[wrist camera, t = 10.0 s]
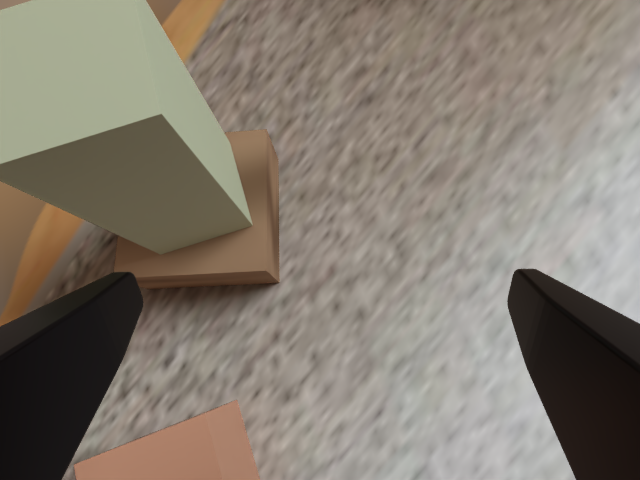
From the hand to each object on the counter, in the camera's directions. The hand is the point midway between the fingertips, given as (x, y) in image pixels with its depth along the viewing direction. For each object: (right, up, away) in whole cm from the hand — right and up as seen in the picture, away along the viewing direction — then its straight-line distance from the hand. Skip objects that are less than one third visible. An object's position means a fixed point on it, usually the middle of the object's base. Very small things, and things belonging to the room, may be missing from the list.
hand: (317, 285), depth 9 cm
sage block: (-7, +3, +12) cm, 14 cm away
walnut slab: (-6, +2, +16) cm, 17 cm away
